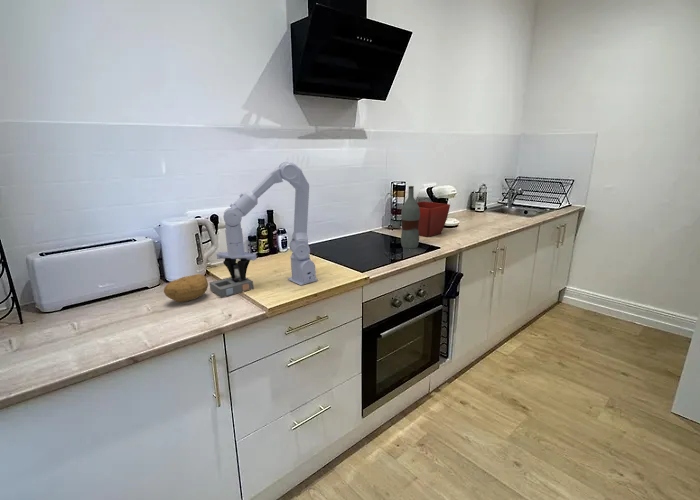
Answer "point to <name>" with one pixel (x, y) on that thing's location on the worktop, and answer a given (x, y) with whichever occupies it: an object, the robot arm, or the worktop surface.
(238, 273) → the jar
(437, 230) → the plant pot
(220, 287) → the socket strip
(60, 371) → the worktop surface
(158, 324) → the worktop surface
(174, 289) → the potato
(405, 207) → the bottle
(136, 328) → the worktop surface
